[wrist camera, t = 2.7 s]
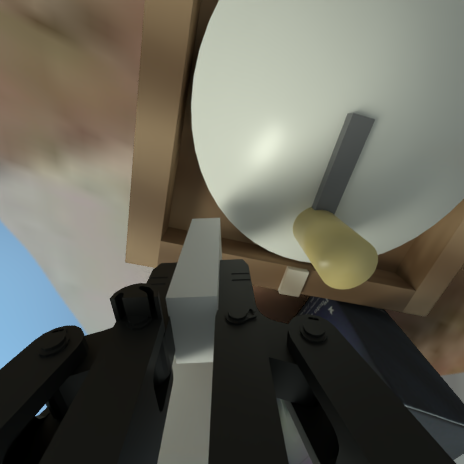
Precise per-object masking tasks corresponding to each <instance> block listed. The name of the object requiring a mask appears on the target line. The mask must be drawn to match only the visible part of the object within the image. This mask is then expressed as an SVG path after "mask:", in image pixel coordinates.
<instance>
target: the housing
mask: <svg viewBox="0 0 464 464" xmlns="http://www.w3.org/2000/svg"><path fill="white" fill-rule="evenodd" d="M218 1H219V0H145V4H144V18H143V31H142V44H141V58H140V71H139V85H138V98H137V112H136V125H135V139H134V152H133V165H132V179H131V192H130V206H129V219H128V233H127V246H126V260H125V262H126V263H132V264H137V265H143V266H148V267H154V268H156V267H157V266H158V265H159V264H161V263H175V262H178V260H179V257H180V254H181V251H182V248H183V245H184V242H185V239H186V236H187V233H188V230H189V227H190V224H191V221H192V219H199V218H220V226H221V247H222V260H232V259H243V260H244V261H245V262H246V263H247V264H248V265H249V271H250V276H251V282H252V285H253V286H259V287H264V288H270V289H276V290H278V291H279V294H284V295H290V296H295V297H299V295H300V294H303V295H309V296H314V297H320V298H325V299H331V300H336V301H342V302H347V303H353V304H358V305H364V306H369V307H375V308H381V309H386V310H392V311H397V312H403V313H408V314H414V315H419V316H425V317H426V316H427V314H428V313H429V312H430V310H431V309H432V307H433V306H434V305H435V303H436V302H437V300H438V299H439V298H440V296H441V295H442V293H443V292H444V291H445V289H446V288H447V286H448V285H449V284H450V282H451V281H452V279H453V278H454V277H455V275H456V274H457V272H458V271H459V270H460V268H461V267H462V265H463V264H464V199H463V200H462V201H461V202H460V203H459V204H458V205H457V206H456V207H455V208H454V209H453V210H452V211H451V212H450V213H448V214H447V215H446V216H445V217H443V218H442V219H441V220H440V221H438V222H437V223H436V224H435V225H434V226H432V227H431V228H429V229H428V230H426V231H425V232H423V233H422V234H420V235H419V236H417V237H416V238H414V239H412V240H410V241H408V242H406V243H405V244H403V245H401V246H399V247H397V248H394V249H392V250H390V251H387V252H385V253H382V254H379V255H378V264H377V267H376V269H375V271H374V273H373V274H372V276H371V277H370V278H369V279H368V280H367V281H365V282H364V283H362V284H361V285H359V286H357V287H354V288H351V289H335V288H332V287H330V286H328V285H327V284H325V283H324V282H323V280H322V279H321V277H320V276H319V274H318V272H317V271H316V269H315V268H314V266H313V265H312V263H309V262H302V261H297V260H293V259H290V258H286V257H283V256H280V255H278V254H275V253H273V252H270V251H268V250H267V249H265V248H263V247H261V246H260V245H258V244H256V243H254V242H253V241H252V240H250V239H249V238H248V237H246V236H245V235H244V234H243V233H241V232H240V231H239V230H238V229H237V228H236V227H235V226H234V225H233V224H232V223H231V222H230V221H229V220H228V218H227V217H226V216H225V214H224V213H223V212H222V210H221V209H220V208H219V207H218V205H217V203H216V202H215V200H214V198H213V196H212V195H211V193H210V191H209V189H208V187H207V185H206V182H205V180H204V177H203V175H202V172H201V170H200V166H199V162H198V159H197V155H196V151H195V146H194V139H193V132H192V114H191V100H192V89H193V78H194V73H195V68H196V63H197V59H198V54H199V49H200V46H201V43H202V40H203V37H204V35H205V32H206V29H207V26H208V23H209V20H210V18H211V16H212V14H213V12H214V10H215V8H216V6H217V3H218Z"/></svg>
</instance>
